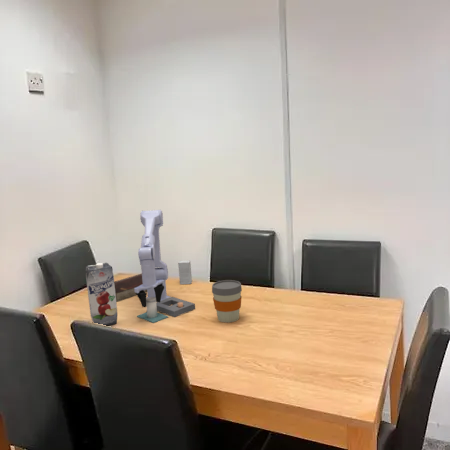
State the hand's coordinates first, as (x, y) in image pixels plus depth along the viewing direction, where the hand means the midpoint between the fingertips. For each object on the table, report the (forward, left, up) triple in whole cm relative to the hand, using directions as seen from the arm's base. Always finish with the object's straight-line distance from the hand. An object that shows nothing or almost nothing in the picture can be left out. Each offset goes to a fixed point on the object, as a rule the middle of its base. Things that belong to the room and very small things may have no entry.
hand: (151, 304), depth 204 cm
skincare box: (-25, +41, -6) cm, 48 cm away
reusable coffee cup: (+28, +19, -6) cm, 34 cm away
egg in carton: (+5, +12, -5) cm, 14 cm away
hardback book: (-40, +16, -7) cm, 44 cm away
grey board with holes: (0, +12, -6) cm, 13 cm away
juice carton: (-11, -17, -6) cm, 21 cm away
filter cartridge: (0, 0, -5) cm, 5 cm away
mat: (0, 0, -6) cm, 6 cm away
